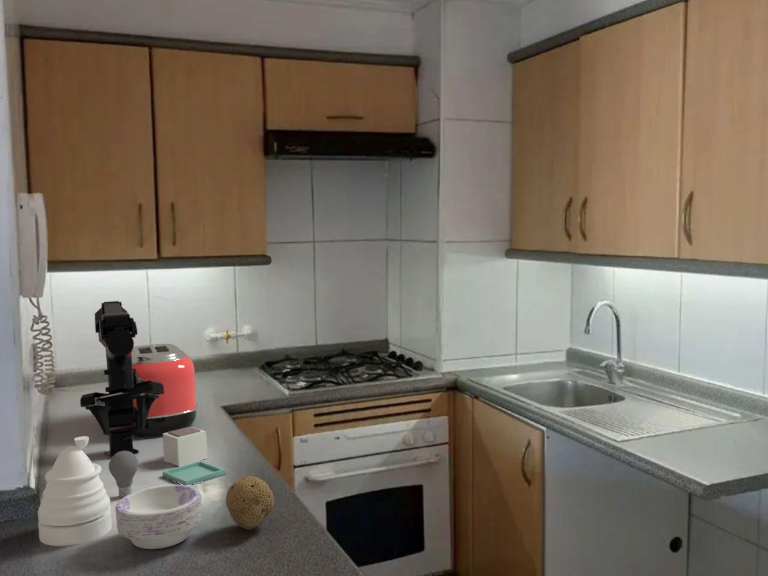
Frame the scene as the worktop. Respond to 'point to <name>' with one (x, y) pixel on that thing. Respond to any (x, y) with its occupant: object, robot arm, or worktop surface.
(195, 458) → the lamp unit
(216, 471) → the tray
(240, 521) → the natural sponge
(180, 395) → the toaster
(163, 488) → the paper bowls
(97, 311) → the robot arm
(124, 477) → the light bulb
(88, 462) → the honey pot
